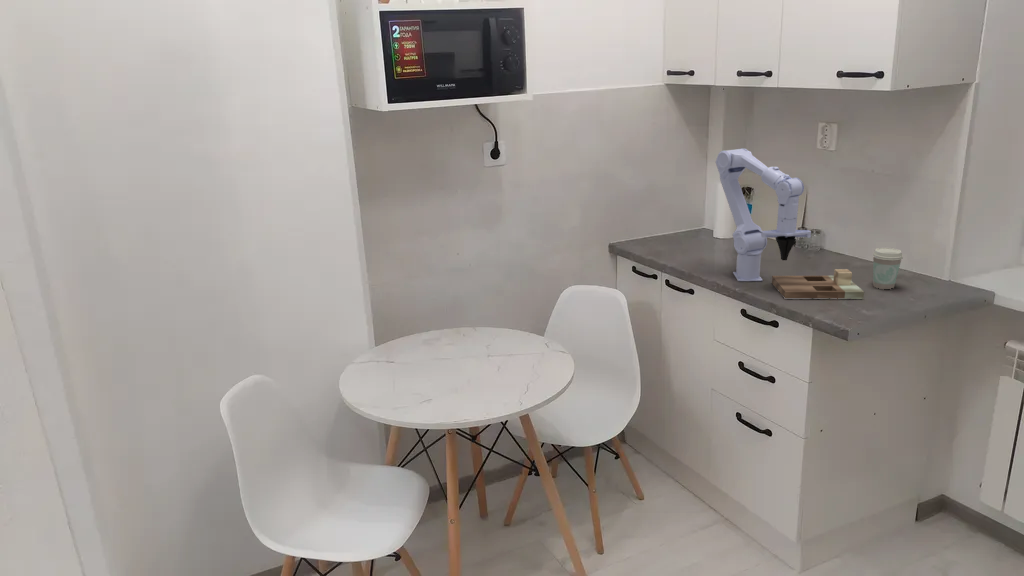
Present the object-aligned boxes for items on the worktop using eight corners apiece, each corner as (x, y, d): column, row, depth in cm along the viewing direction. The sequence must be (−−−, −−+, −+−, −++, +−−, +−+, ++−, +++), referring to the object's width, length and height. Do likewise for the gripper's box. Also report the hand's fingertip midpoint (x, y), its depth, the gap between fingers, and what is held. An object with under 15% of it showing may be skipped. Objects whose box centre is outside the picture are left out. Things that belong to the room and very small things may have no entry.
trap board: (771, 283, 234) (772, 275, 234) (844, 282, 232) (845, 275, 231) (784, 299, 218) (785, 292, 218) (863, 299, 216) (864, 291, 215)
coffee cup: (864, 287, 227) (868, 251, 223) (874, 281, 232) (878, 245, 228) (893, 292, 221) (898, 255, 217) (902, 286, 226) (907, 250, 223)
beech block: (833, 281, 226) (834, 269, 224) (846, 281, 225) (847, 269, 224) (837, 285, 222) (838, 273, 221) (850, 285, 221) (852, 272, 220)
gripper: (766, 220, 218) (763, 263, 222) (815, 219, 216) (811, 262, 220) (761, 215, 225) (758, 257, 229) (808, 215, 223) (804, 256, 227)
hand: (783, 259), depth 225 cm, fingers closed
